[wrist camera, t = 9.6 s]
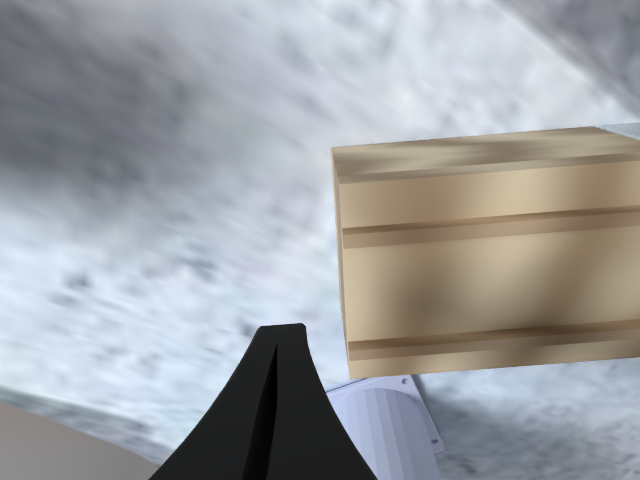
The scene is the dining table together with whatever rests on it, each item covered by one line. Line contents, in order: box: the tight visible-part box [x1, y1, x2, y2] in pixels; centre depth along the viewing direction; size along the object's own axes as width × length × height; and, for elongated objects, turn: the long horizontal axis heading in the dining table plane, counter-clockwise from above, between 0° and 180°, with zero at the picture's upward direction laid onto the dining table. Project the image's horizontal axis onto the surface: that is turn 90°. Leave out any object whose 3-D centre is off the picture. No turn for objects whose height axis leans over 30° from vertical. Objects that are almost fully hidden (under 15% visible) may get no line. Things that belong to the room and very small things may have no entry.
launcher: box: [331, 127, 640, 379], centre depth 19 cm, size 18×10×6 cm, turn 94°
